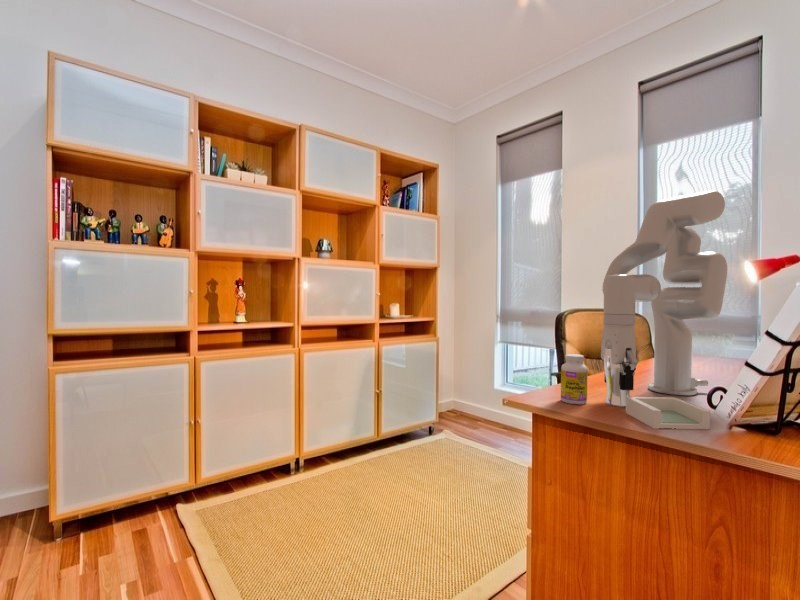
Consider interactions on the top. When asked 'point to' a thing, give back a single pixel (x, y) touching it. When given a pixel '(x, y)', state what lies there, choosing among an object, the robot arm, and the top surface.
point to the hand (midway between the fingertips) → (618, 385)
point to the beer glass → (614, 382)
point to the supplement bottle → (574, 380)
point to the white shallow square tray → (667, 413)
